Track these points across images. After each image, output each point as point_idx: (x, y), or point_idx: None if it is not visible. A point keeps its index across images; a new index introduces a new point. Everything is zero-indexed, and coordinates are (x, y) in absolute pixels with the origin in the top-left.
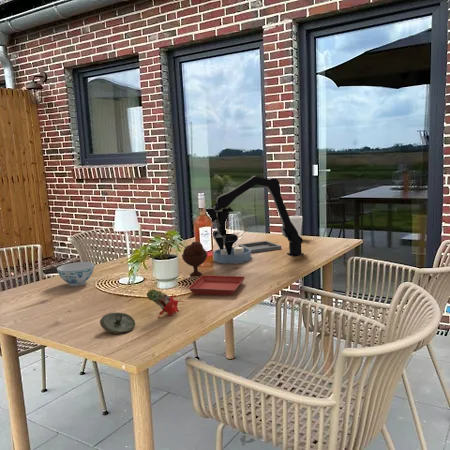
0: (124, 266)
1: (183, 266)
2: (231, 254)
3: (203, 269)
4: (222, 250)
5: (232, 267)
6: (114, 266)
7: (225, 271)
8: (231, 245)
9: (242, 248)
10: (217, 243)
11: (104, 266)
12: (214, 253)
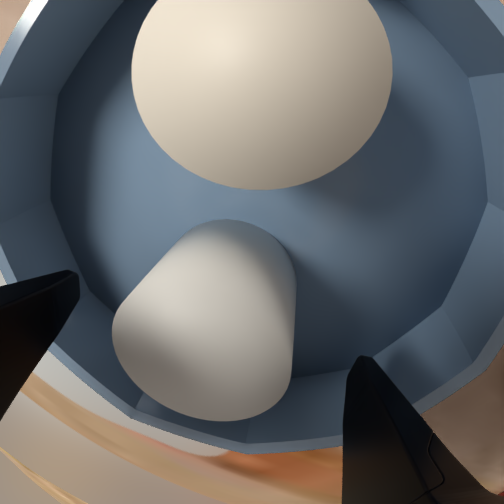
0: (76, 497)
1: (190, 489)
2: (74, 87)
3: (340, 487)
4: (191, 400)
5: (491, 383)
6: (67, 497)
7: (488, 439)
8: (451, 487)
9: (365, 18)
10: (3, 401)
11: (59, 497)
12: (175, 432)
